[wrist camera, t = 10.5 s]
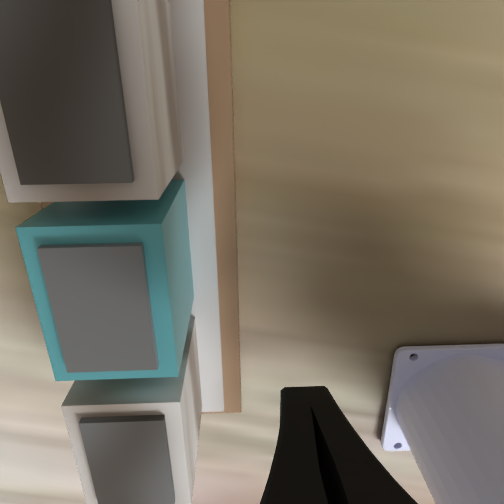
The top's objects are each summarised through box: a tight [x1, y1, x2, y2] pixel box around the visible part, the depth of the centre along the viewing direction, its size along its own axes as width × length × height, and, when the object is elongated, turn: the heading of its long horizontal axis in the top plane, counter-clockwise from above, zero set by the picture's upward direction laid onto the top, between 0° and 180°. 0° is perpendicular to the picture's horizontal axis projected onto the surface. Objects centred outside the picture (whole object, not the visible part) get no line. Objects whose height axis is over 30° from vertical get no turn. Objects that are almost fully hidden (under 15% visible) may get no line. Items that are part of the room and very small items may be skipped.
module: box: [15, 180, 194, 381], centre depth 16 cm, size 4×6×6 cm
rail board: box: [0, 0, 241, 504], centre depth 17 cm, size 9×22×8 cm, turn 1°
